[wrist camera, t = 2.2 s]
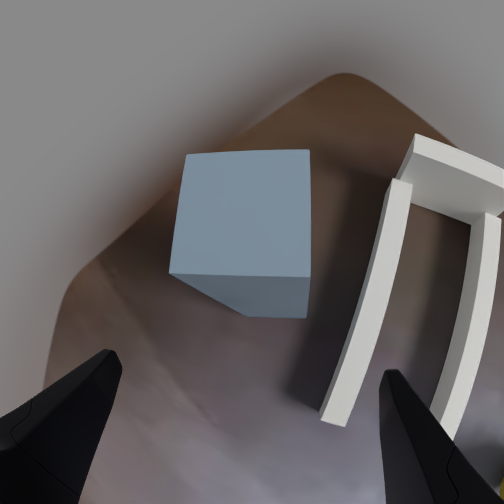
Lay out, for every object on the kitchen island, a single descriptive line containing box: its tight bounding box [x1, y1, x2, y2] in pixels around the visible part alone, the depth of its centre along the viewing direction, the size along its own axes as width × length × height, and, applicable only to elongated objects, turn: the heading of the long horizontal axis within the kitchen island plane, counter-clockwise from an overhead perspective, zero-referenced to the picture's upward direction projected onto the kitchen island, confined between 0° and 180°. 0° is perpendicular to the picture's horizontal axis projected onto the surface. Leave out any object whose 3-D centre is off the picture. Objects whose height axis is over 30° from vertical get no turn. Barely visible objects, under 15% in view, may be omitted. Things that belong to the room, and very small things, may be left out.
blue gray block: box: [169, 150, 311, 318], centre depth 16 cm, size 4×4×13 cm
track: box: [319, 134, 504, 441], centre depth 17 cm, size 18×9×6 cm, turn 160°
